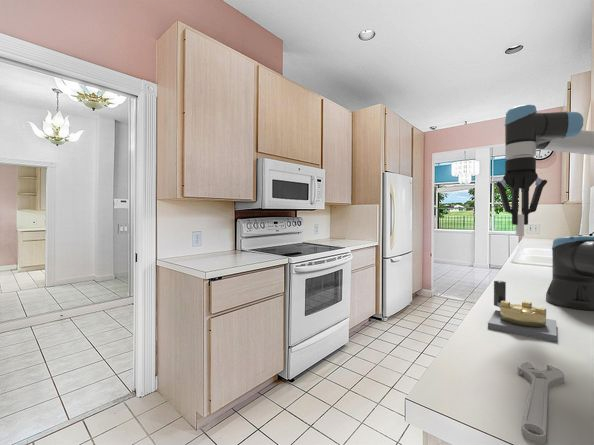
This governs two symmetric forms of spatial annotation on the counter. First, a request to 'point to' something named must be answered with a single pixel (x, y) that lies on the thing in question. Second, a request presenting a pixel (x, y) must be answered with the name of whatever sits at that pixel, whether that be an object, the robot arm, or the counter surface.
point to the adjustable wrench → (538, 399)
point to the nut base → (524, 328)
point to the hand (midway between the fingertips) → (519, 235)
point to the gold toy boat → (517, 309)
